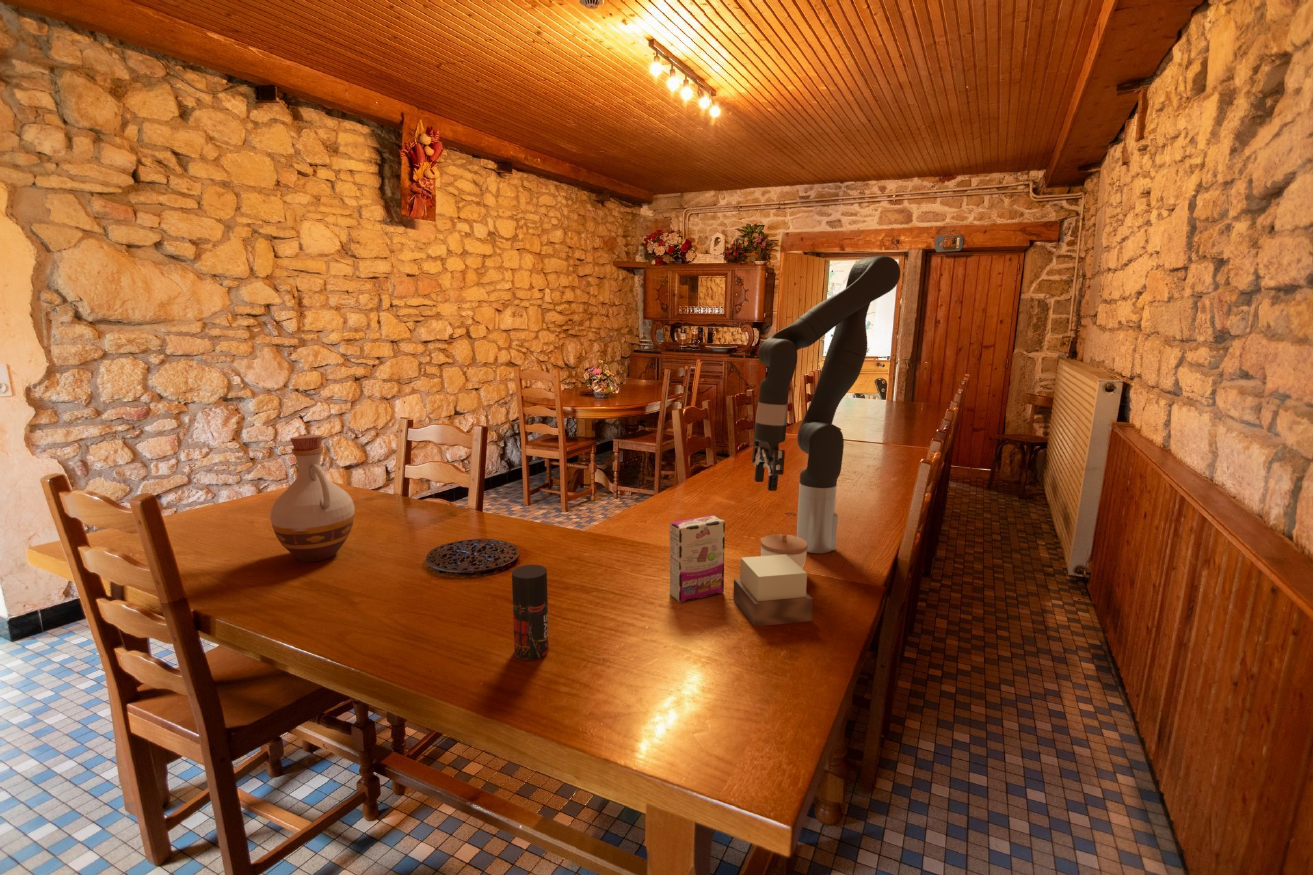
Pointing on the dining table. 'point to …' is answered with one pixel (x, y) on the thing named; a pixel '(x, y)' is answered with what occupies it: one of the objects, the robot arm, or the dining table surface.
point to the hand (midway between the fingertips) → (765, 486)
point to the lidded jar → (785, 547)
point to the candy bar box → (697, 558)
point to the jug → (312, 507)
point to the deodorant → (530, 612)
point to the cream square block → (773, 577)
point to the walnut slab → (772, 607)
